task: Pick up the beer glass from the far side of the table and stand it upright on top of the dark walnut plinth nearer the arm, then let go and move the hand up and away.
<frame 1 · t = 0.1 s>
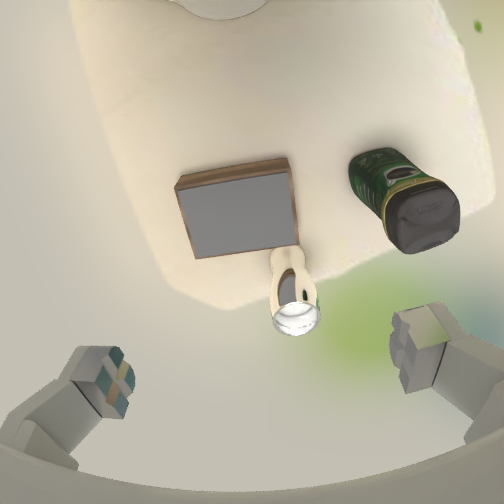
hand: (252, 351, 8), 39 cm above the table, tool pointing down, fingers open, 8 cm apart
walnut plinth: (240, 202, 48), on the table
beer glass: (287, 257, 53), on the table
coffee jar: (376, 172, 45), on the table
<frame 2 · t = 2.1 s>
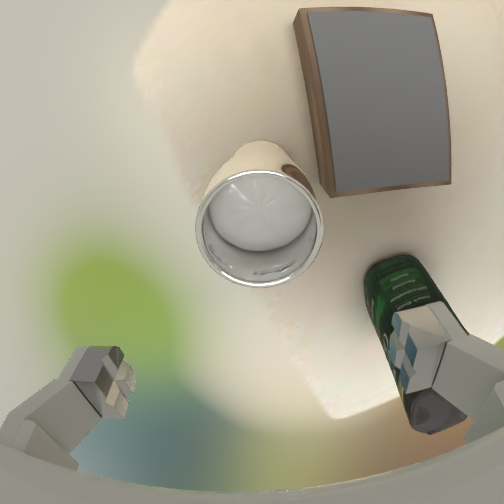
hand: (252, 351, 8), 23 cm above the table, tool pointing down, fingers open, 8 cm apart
walnut plinth: (368, 97, 25), on the table
beer glass: (260, 170, 29), on the table
coffee jar: (391, 287, 35), on the table
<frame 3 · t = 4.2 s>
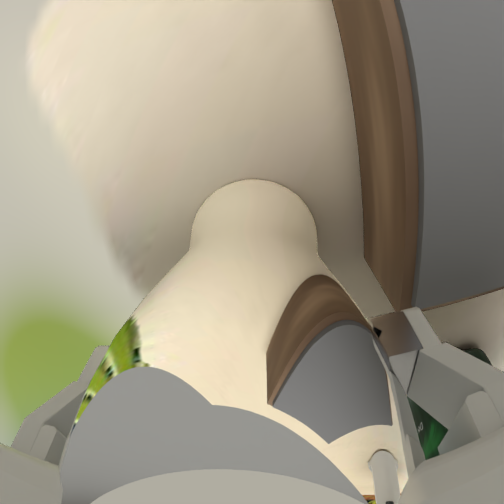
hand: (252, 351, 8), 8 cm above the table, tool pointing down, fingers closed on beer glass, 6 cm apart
walnut plinth: (457, 99, 11), on the table
beer glass: (254, 237, 15), on the table, touching gripper
coffee jar: (440, 383, 21), on the table
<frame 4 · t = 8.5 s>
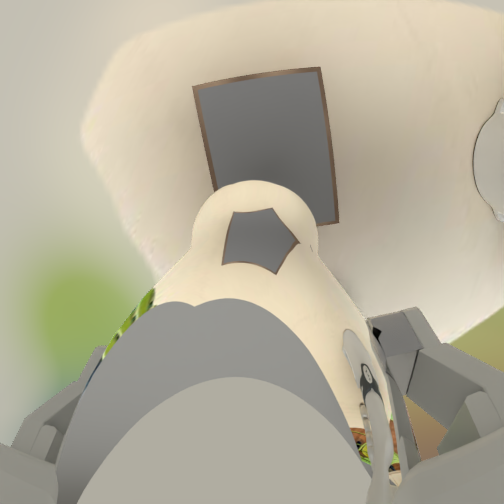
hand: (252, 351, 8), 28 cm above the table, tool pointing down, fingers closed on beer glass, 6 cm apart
walnut plinth: (267, 148, 33), on the table
beer glass: (255, 237, 15), point 20 cm above the table, touching gripper
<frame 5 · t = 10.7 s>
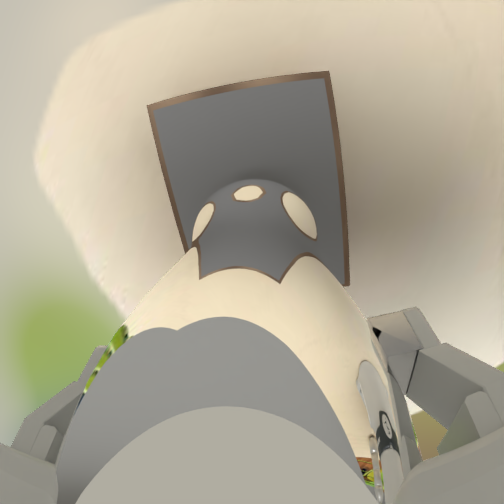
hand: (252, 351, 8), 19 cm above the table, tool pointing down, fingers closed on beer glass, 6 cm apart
walnut plinth: (258, 182, 25), on the table
beer glass: (255, 237, 15), point 11 cm above the table, touching gripper
when the fingers open (15 cm above the table, at t = 12.6 s): beer glass drops 1 cm, resting on walnut plinth.
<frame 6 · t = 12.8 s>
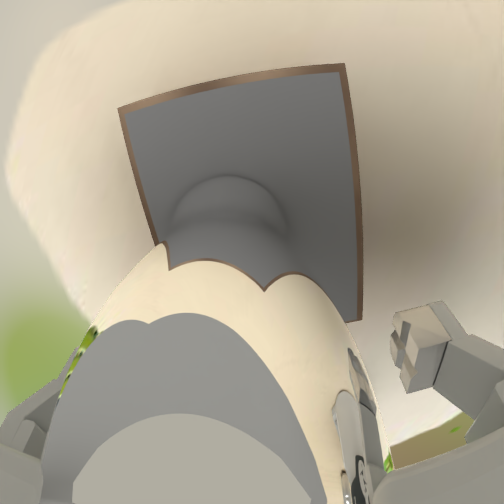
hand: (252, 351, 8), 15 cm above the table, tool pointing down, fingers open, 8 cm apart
walnut plinth: (255, 197, 21), on the table
beer glass: (228, 229, 17), point 5 cm above the table, touching gripper, walnut plinth
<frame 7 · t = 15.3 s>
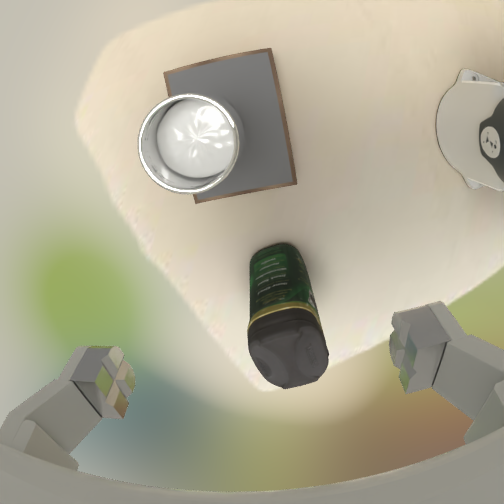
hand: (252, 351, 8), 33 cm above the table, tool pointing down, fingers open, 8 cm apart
walnut plinth: (233, 123, 36), on the table
beer glass: (215, 128, 32), point 5 cm above the table, touching walnut plinth
coffee jar: (279, 271, 46), on the table
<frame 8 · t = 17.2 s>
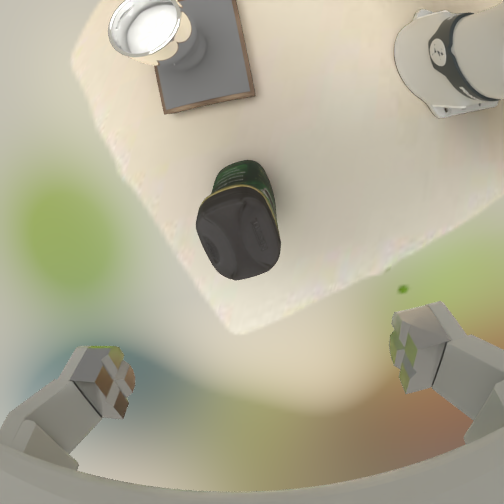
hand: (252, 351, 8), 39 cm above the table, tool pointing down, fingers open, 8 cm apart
walnut plinth: (203, 53, 37), on the table
beer glass: (183, 49, 32), point 5 cm above the table, touching walnut plinth
coffee jar: (245, 191, 46), on the table
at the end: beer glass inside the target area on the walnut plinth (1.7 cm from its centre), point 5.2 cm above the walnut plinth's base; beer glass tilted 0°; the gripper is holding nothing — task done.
